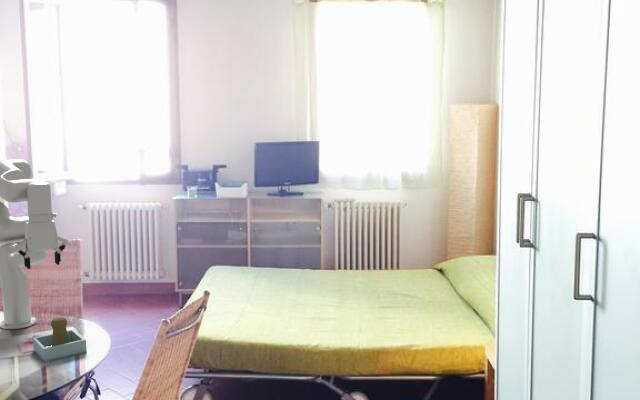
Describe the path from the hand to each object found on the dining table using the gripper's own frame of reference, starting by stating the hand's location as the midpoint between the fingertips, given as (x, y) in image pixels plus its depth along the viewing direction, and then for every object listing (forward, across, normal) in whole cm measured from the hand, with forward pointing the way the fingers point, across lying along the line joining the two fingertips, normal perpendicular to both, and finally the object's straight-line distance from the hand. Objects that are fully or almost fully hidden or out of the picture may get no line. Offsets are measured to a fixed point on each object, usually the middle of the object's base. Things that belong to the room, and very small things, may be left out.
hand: (43, 266), depth 233 cm
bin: (+27, 0, +14) cm, 30 cm away
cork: (+26, -1, +14) cm, 30 cm away
